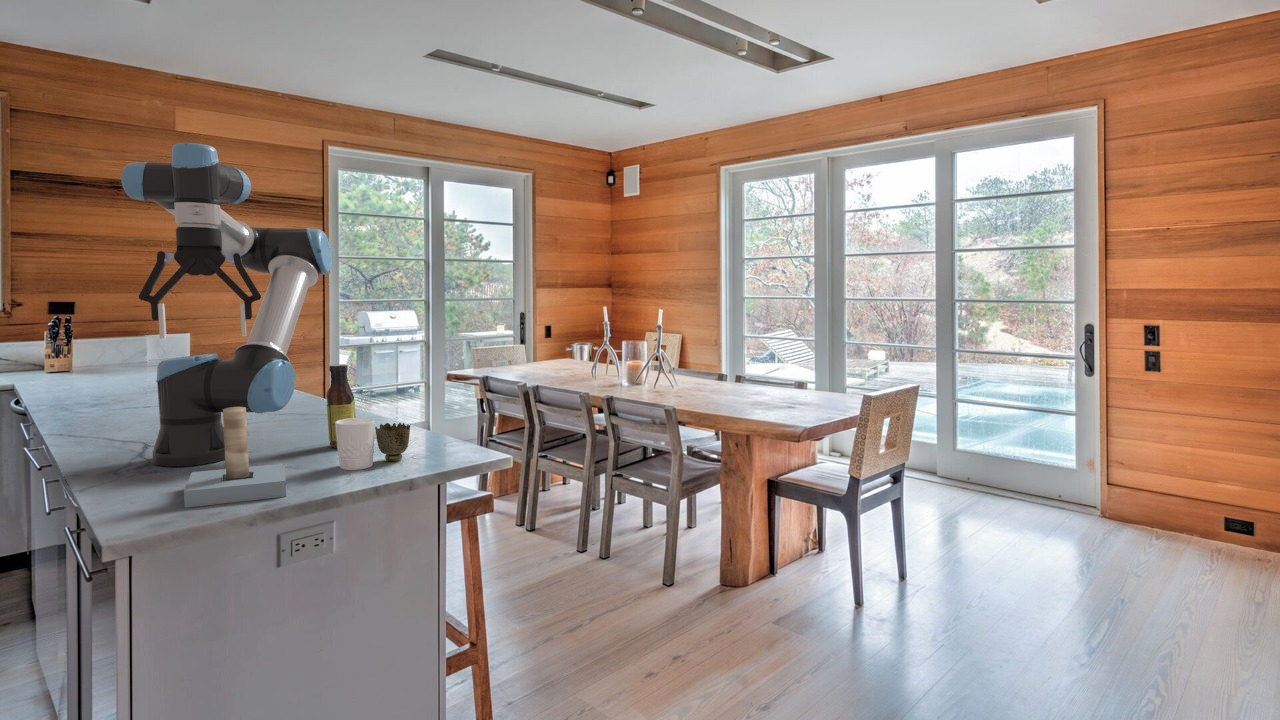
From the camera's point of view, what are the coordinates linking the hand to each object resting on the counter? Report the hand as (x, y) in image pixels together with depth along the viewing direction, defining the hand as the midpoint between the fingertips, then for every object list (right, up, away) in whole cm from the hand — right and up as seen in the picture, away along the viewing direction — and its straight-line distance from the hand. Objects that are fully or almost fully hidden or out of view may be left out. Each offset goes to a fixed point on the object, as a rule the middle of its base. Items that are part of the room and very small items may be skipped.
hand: (204, 337), depth 141 cm
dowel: (+9, -29, -5) cm, 31 cm away
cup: (+30, -27, +21) cm, 45 cm away
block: (+9, -29, -4) cm, 31 cm away
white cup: (+24, -28, +15) cm, 40 cm away
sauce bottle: (+13, -26, +34) cm, 45 cm away
